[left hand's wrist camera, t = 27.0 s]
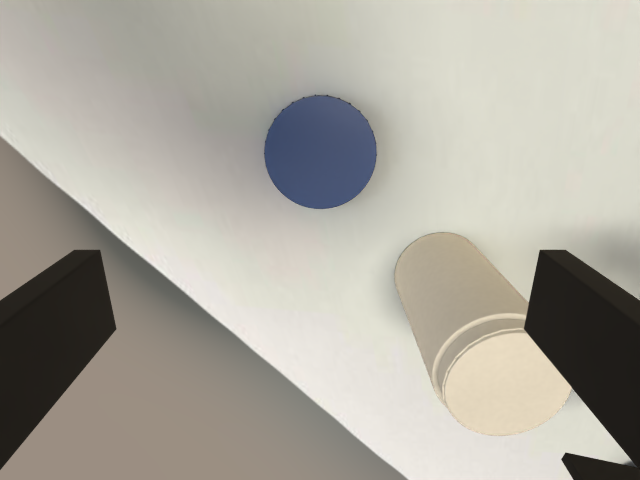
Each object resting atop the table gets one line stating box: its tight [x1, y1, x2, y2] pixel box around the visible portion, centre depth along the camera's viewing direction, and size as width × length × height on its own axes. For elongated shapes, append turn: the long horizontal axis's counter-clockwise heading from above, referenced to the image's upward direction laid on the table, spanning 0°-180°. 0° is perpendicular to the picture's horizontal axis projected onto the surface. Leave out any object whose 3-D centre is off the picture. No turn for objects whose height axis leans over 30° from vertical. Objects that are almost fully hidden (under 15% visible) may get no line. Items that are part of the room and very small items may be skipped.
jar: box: [395, 233, 572, 436], centre depth 35 cm, size 9×9×17 cm
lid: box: [264, 95, 377, 209], centre depth 38 cm, size 10×10×2 cm
